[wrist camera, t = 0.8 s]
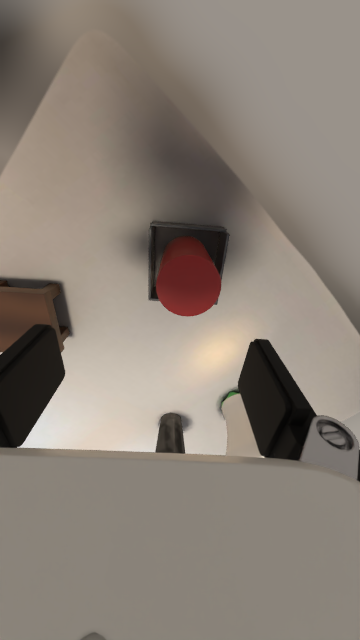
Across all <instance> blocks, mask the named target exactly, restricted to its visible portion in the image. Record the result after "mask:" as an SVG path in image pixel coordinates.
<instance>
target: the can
mask: <svg viewBox="0 0 360 640" xmlns="http://www.w3.org/2000/svg"><path fill="white" fill-rule="evenodd" d="M156 291H157V295H158V298H159V300H160V302H161V303H162V305H163V306H164V307H165V308H166V309H168V310H169V311H171V312H172V313H174V314H177V315H181V316H195V315H199V314H201V313H203V312H205V311H207V310H208V309H210V308H211V307H212V306H213V305H214V303H215V302H216V301H217V299H218V297H219V294H220V291H221V279H220V275H219V273H218V271H217V269H216V267H215V265H214V263H213V261H212V260H211V258H210V256H209V254H208V252H207V250H206V249H205V247H204V245H203V244H202V243H201V242H200V241H199V240H198V239H196V238H194V237H191V236H180V237H177V238H175V239H173V240H172V241H170V242H169V243H168V244H167V246H166V247H165V249H164V252H163V256H162V260H161V264H160V268H159V272H158V277H157V281H156Z"/></svg>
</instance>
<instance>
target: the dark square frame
mask: <svg viewBox="0 0 360 640" xmlns="http://www.w3.org/2000/svg"><path fill="white" fill-rule="evenodd" d="M155 226H158V227H171V228H183V229H195V230H208V231H220V235H219V241H218V247H217V254H216V260H215V267H216V269H217V271H218V273H219V275H220V279H221V280H222V274H223V269H224V263H225V257H226V252H227V246H228V241H229V234H228V233H227V232H226V230H227V229H225V228H224V227H218V226H205V225H193V224H181V223H169V222H156V221H153V222H152V223H151V226H150V227H149V300H152V301H160V300H159V298H158V295H157V291H156V286H154V248H155ZM217 302H218V299H217V301H216V302H215V303H214V304H215V305H217Z"/></svg>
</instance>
